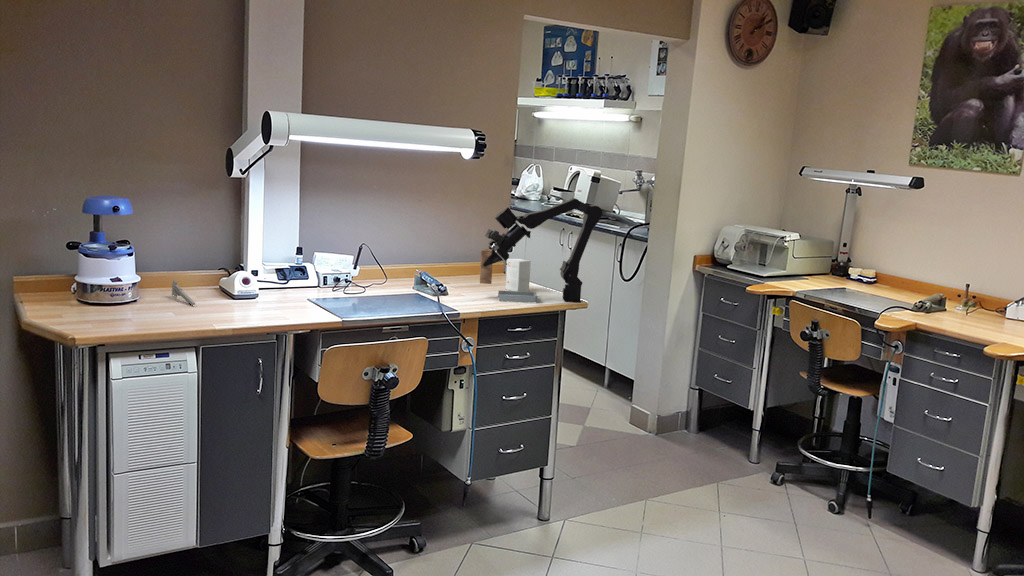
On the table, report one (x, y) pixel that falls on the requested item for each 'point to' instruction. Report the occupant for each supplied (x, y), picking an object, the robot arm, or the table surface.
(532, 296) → the channel
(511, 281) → the small box
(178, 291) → the caliper
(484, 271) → the walnut block
